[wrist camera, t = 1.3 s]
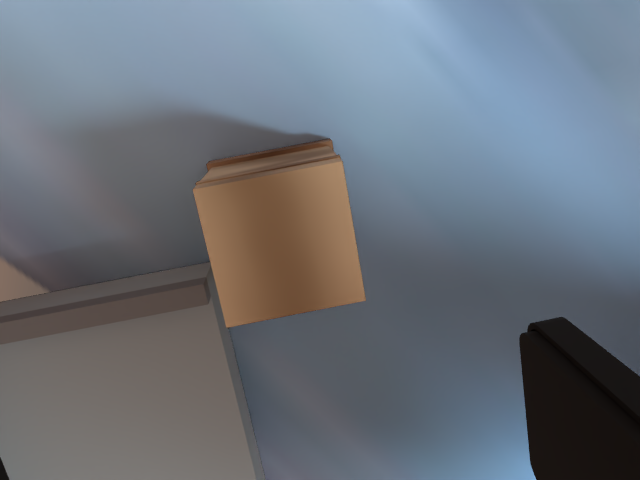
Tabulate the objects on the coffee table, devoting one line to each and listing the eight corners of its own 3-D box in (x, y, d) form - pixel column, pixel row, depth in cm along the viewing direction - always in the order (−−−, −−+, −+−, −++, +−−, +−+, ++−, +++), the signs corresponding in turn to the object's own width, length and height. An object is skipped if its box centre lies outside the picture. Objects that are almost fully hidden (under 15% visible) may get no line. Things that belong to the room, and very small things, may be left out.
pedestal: (329, 138, 28) (346, 154, 21) (349, 253, 29) (371, 304, 22) (209, 161, 27) (185, 185, 20) (235, 275, 29) (222, 333, 22)
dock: (212, 261, 29) (197, 300, 23) (274, 516, 33) (273, 598, 28) (-61, 313, 28) (-139, 365, 23) (38, 563, 33) (-9, 655, 27)
